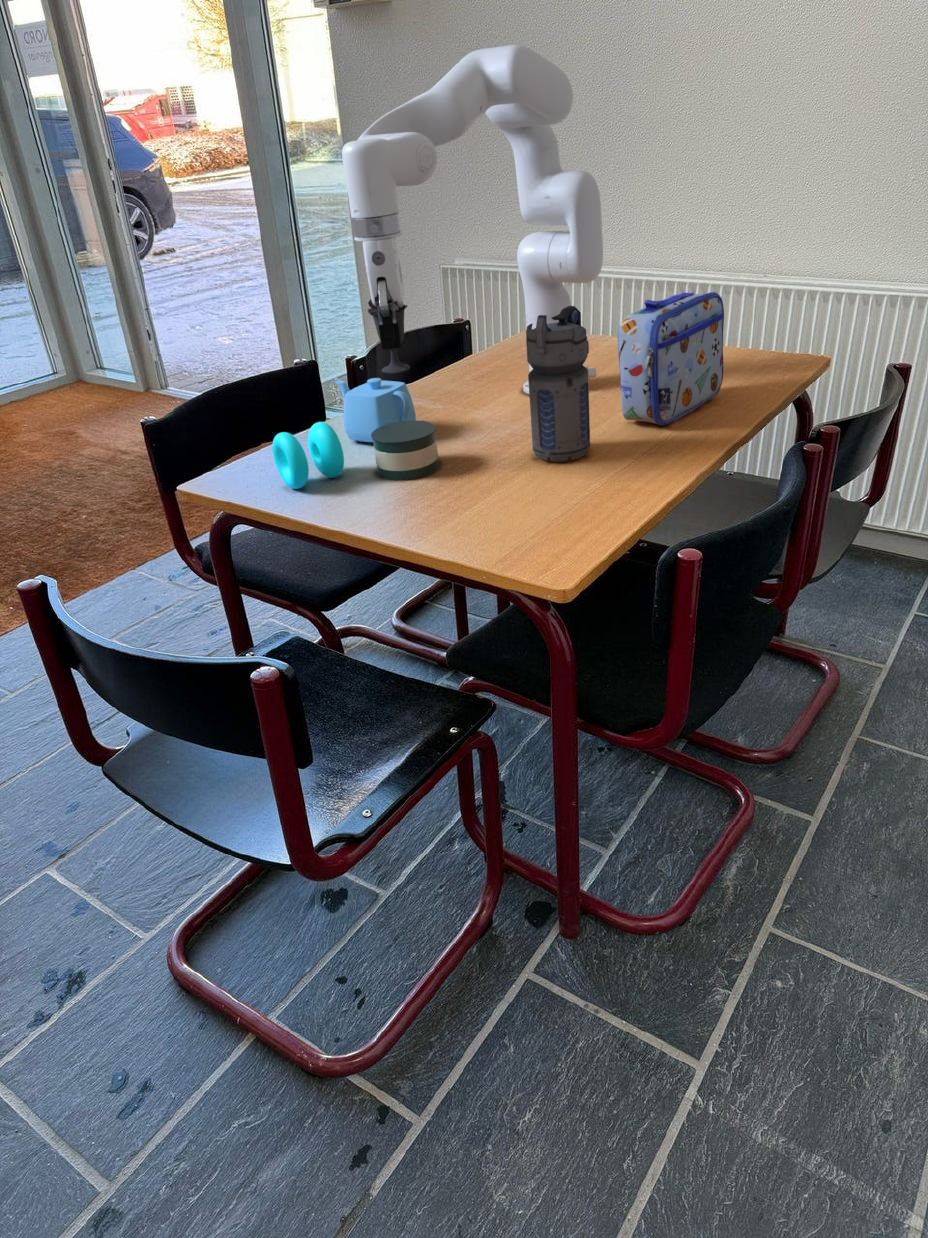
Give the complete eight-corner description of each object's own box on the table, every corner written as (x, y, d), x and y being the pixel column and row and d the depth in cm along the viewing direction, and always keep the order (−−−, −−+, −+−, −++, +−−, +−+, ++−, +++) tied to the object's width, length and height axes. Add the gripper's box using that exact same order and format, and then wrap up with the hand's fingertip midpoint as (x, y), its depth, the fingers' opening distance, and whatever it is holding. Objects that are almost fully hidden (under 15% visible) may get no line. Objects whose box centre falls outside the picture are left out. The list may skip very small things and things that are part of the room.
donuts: (350, 481, 160) (341, 426, 155) (299, 497, 156) (287, 442, 151) (326, 467, 168) (317, 414, 163) (276, 482, 163) (265, 428, 158)
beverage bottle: (606, 443, 164) (603, 300, 151) (572, 469, 155) (566, 318, 142) (556, 437, 169) (549, 298, 157) (520, 462, 160) (510, 316, 147)
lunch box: (659, 437, 164) (660, 312, 153) (610, 430, 170) (607, 308, 159) (729, 394, 181) (734, 278, 170) (681, 389, 187) (684, 277, 176)
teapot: (361, 421, 189) (352, 367, 184) (431, 430, 180) (424, 372, 174) (322, 441, 181) (312, 384, 175) (394, 451, 171) (386, 391, 166)
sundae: (418, 362, 156) (406, 271, 149) (412, 373, 151) (400, 278, 143) (380, 365, 157) (367, 274, 150) (373, 376, 152) (359, 282, 144)
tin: (440, 454, 168) (435, 417, 164) (439, 476, 158) (435, 438, 154) (378, 460, 168) (373, 423, 164) (374, 483, 158) (368, 445, 155)
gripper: (398, 231, 135) (413, 354, 144) (402, 218, 150) (416, 330, 159) (348, 237, 136) (366, 359, 145) (357, 223, 150) (374, 334, 159)
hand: (392, 342), depth 152 cm, fingers closed on sundae, 5 cm apart
